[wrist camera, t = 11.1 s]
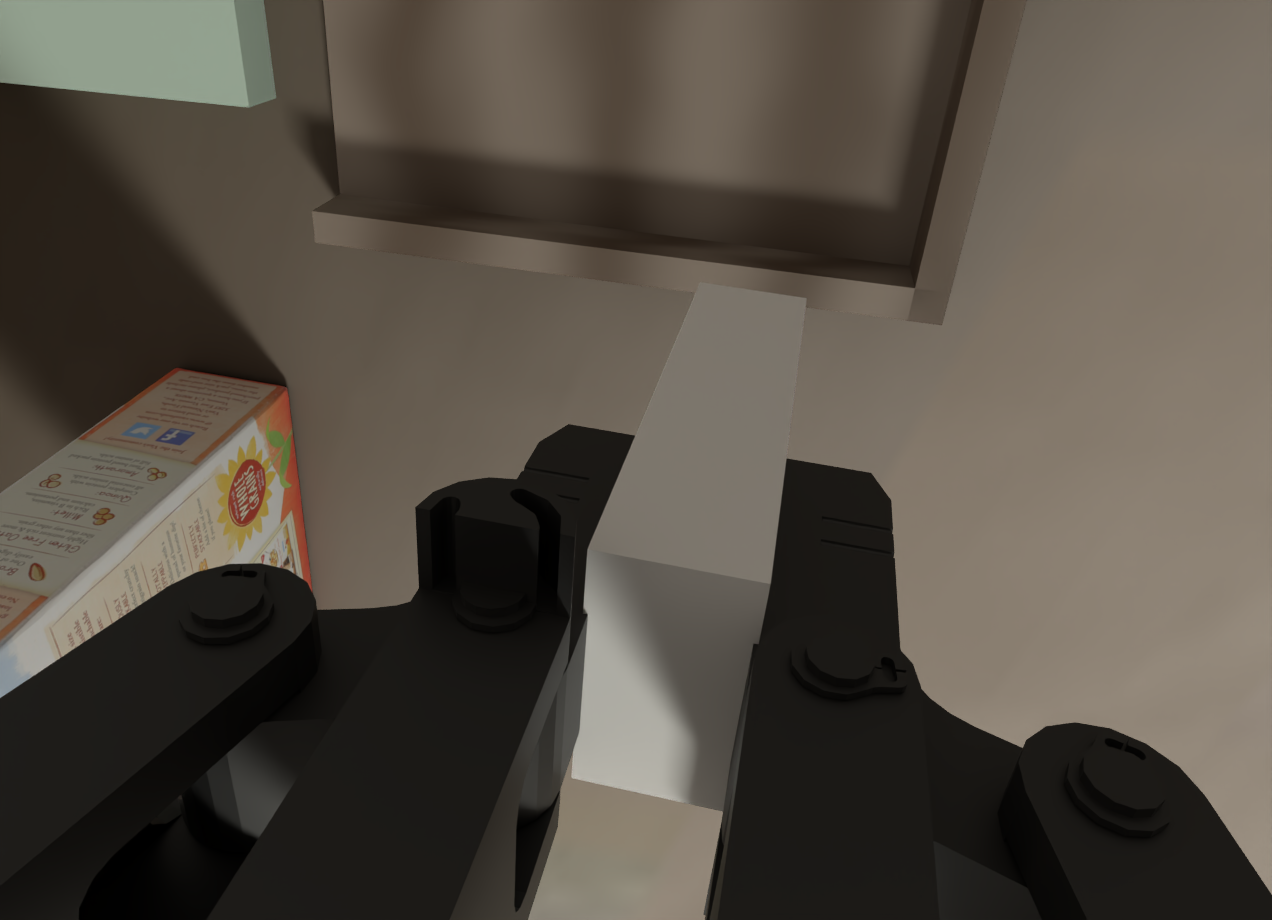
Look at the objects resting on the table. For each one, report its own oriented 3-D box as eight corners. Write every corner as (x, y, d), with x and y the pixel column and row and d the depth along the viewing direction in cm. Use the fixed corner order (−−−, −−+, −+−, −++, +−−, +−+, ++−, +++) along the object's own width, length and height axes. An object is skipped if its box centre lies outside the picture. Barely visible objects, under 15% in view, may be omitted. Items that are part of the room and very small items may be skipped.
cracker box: (169, 362, 43) (-288, 682, 25) (294, 382, 43) (-83, 725, 25) (212, 599, 50) (-120, 979, 33) (319, 620, 50) (41, 1017, 32)
